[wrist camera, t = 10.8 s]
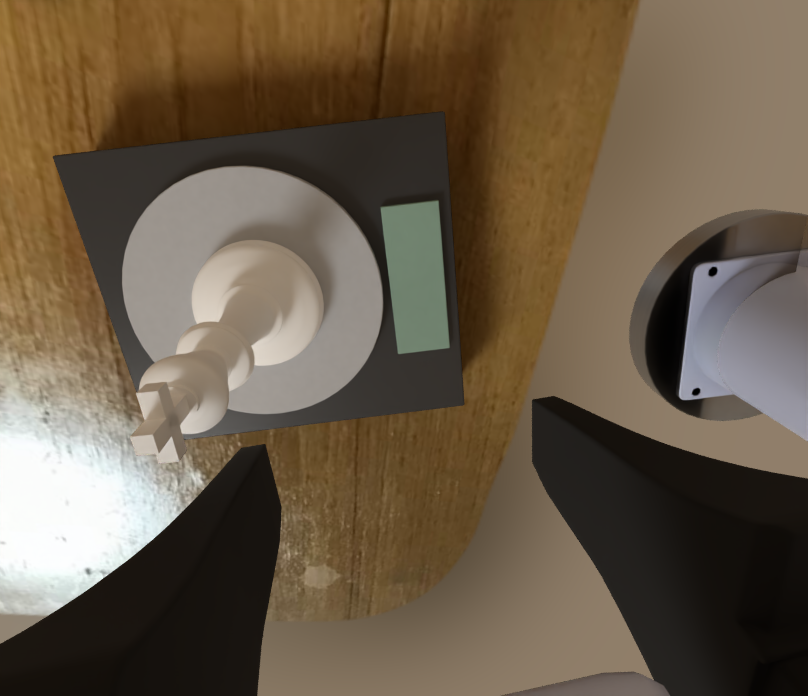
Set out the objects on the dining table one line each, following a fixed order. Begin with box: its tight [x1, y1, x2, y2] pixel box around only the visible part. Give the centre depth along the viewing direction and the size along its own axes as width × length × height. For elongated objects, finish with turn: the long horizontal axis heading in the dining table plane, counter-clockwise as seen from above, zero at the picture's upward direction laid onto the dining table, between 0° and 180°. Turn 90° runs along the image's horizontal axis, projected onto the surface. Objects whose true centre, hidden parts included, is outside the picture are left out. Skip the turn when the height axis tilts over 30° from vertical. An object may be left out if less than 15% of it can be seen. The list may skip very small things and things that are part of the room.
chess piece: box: [130, 240, 324, 464], centre depth 14 cm, size 5×5×10 cm
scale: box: [53, 111, 464, 440], centre depth 20 cm, size 14×12×3 cm
